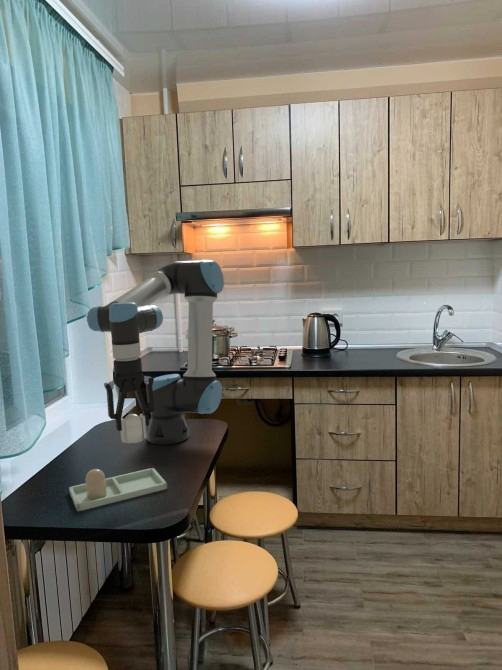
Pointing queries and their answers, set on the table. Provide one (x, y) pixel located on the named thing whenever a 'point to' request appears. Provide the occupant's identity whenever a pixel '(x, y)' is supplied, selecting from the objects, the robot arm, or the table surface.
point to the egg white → (133, 428)
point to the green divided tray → (120, 488)
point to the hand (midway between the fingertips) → (133, 438)
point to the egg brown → (95, 484)
